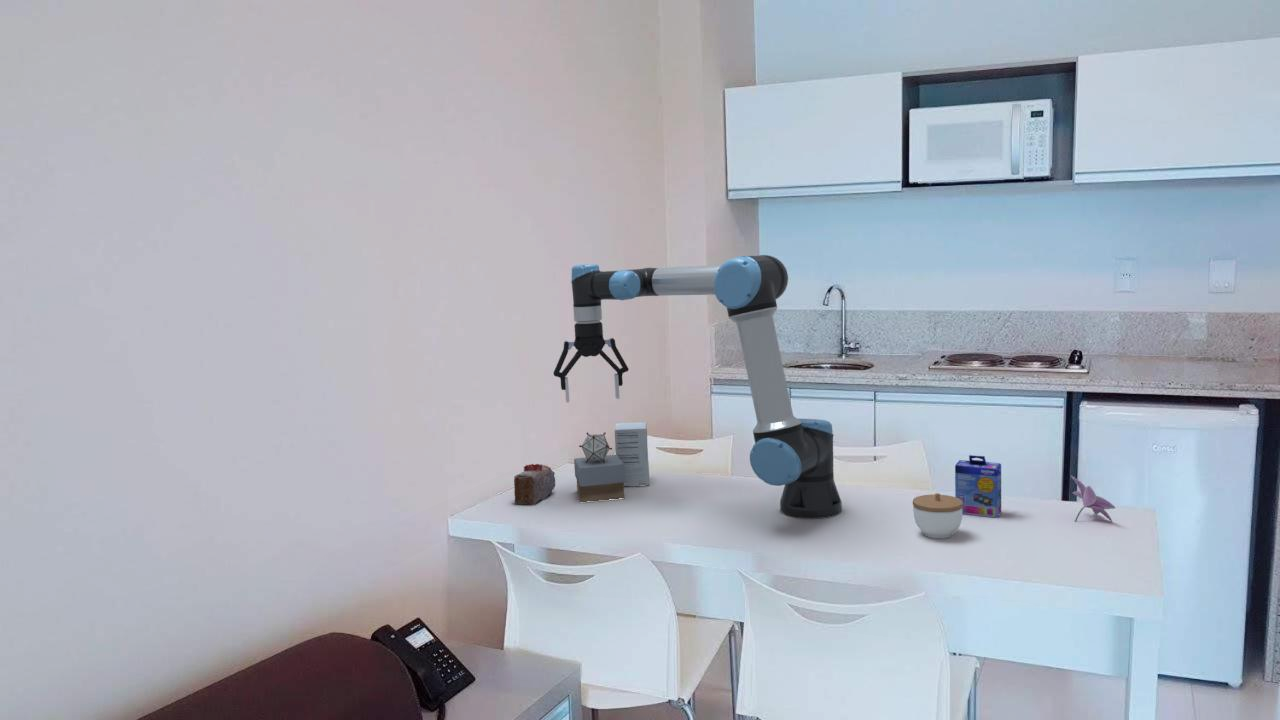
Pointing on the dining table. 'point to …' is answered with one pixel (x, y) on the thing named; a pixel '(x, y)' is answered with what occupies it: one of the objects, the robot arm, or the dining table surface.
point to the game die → (595, 447)
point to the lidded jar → (937, 514)
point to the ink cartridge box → (979, 486)
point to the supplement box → (633, 452)
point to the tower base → (600, 492)
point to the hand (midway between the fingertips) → (592, 399)
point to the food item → (533, 484)
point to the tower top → (599, 471)
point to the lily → (1092, 500)
